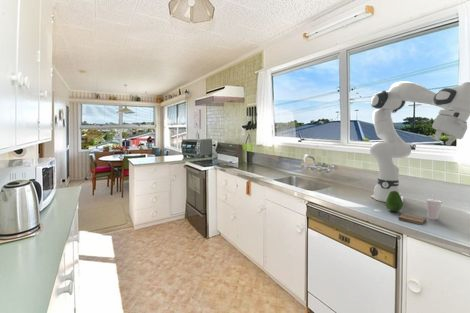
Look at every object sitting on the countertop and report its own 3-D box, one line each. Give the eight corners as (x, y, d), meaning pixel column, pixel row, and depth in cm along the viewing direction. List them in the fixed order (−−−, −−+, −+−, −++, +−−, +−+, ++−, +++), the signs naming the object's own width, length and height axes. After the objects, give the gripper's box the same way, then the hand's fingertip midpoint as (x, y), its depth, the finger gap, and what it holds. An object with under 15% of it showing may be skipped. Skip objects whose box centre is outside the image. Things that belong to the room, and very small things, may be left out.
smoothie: (425, 215, 137) (427, 190, 136) (440, 218, 133) (442, 192, 132) (424, 218, 132) (427, 192, 131) (440, 221, 128) (442, 194, 127)
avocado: (388, 208, 149) (389, 188, 148) (403, 211, 143) (405, 191, 142) (383, 211, 143) (385, 190, 142) (399, 214, 138) (401, 193, 137)
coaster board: (403, 215, 137) (403, 212, 137) (425, 220, 130) (426, 217, 130) (398, 219, 130) (398, 216, 130) (422, 225, 123) (422, 222, 123)
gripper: (461, 121, 129) (447, 145, 132) (437, 109, 122) (423, 135, 125) (475, 123, 124) (460, 149, 127) (451, 111, 116) (436, 138, 119)
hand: (441, 142), depth 126 cm, fingers open, 8 cm apart
